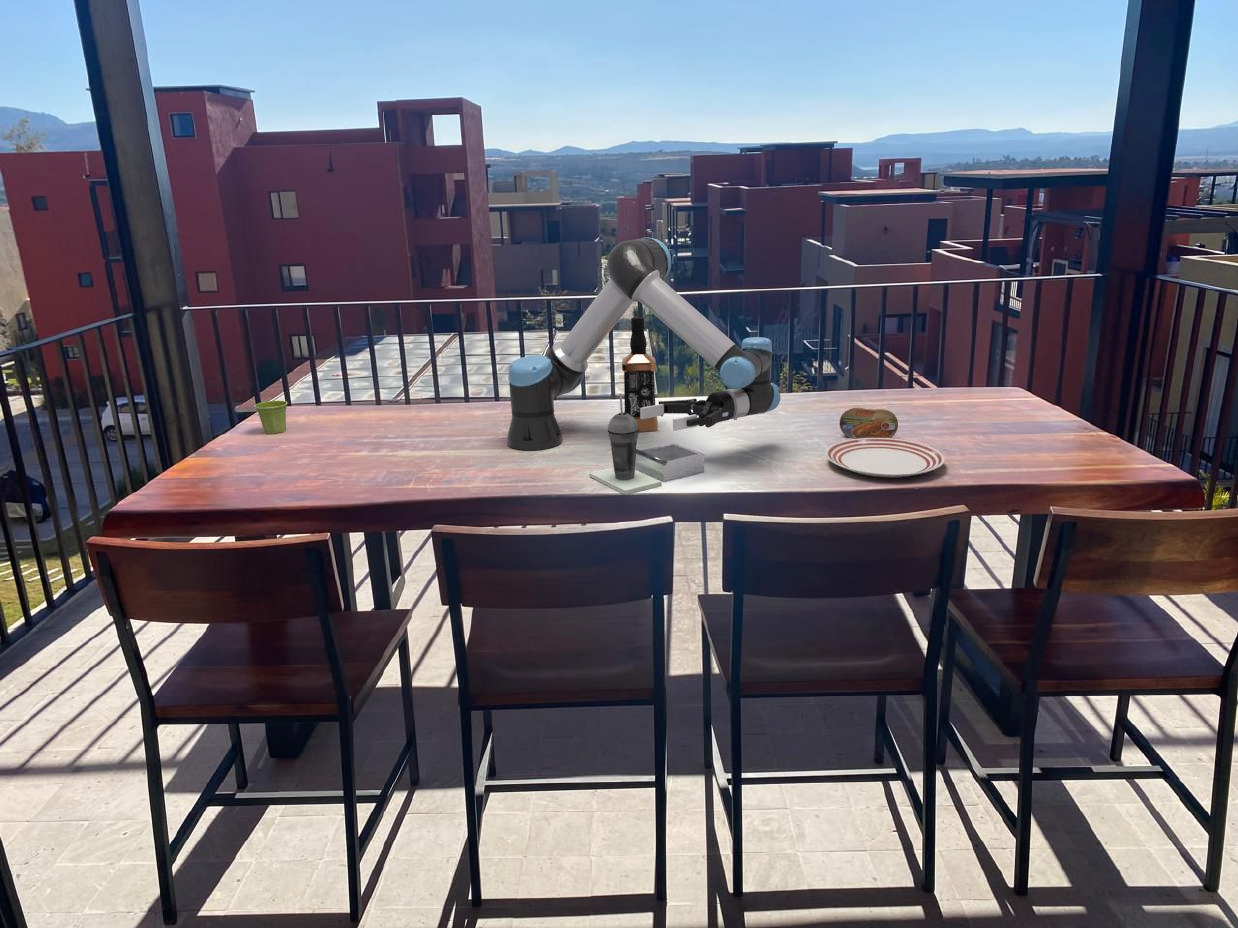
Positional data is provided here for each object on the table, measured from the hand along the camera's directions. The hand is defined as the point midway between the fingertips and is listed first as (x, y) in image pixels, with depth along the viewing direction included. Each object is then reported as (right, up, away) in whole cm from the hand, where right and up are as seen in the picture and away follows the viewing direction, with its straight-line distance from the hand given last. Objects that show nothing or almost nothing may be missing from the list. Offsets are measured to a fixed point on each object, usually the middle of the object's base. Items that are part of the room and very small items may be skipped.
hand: (656, 419), depth 195 cm
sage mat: (-8, -15, -1) cm, 17 cm away
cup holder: (+3, -12, +6) cm, 14 cm away
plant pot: (-114, -1, +55) cm, 126 cm away
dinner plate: (+55, -11, +4) cm, 56 cm away
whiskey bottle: (-3, 0, +45) cm, 45 cm away
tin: (+58, -4, +26) cm, 64 cm away
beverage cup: (-8, -14, -1) cm, 16 cm away
